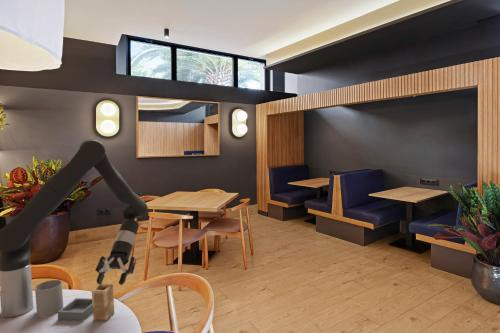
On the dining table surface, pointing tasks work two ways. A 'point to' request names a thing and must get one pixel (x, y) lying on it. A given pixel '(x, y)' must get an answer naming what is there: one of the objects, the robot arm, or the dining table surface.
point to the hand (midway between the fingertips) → (109, 284)
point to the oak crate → (103, 302)
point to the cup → (49, 297)
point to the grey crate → (76, 310)
